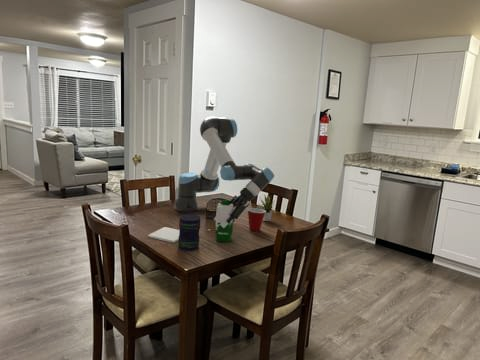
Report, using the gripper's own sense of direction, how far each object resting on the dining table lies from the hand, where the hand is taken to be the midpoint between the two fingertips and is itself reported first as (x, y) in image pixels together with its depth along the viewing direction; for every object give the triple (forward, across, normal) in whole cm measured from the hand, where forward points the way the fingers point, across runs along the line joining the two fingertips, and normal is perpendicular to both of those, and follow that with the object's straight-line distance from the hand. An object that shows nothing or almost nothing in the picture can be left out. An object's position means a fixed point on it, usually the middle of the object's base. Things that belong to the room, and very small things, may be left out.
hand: (218, 223), depth 176 cm
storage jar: (+18, -6, +6) cm, 20 cm away
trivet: (+22, +12, +9) cm, 26 cm away
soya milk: (+4, 0, -9) cm, 9 cm away
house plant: (-23, +26, -35) cm, 49 cm away
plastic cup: (-12, +11, -25) cm, 30 cm away
